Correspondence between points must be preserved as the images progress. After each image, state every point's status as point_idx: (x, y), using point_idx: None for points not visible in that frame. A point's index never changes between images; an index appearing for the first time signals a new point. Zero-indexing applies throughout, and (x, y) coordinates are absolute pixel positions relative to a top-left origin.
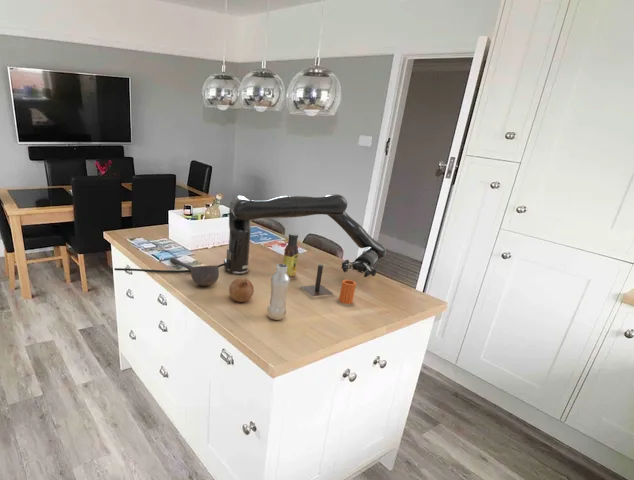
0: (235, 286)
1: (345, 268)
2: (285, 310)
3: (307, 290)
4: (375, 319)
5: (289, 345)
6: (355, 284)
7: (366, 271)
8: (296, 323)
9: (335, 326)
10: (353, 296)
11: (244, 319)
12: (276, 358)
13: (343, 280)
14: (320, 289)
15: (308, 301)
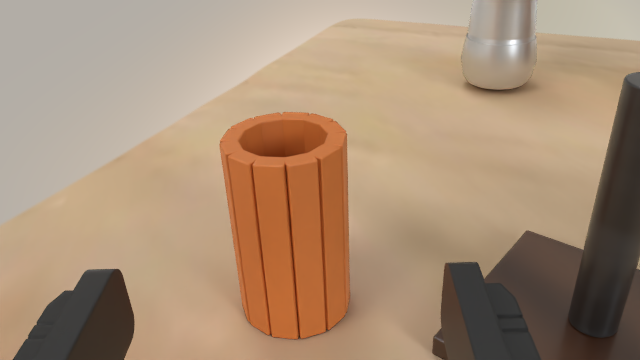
0: None
1: (451, 267)
2: (465, 48)
3: (634, 277)
4: (80, 226)
5: (360, 44)
6: (223, 140)
7: (83, 299)
8: (412, 91)
9: None
10: (235, 249)
11: (558, 56)
12: (358, 24)
13: (340, 137)
14: (586, 352)
15: (509, 209)
